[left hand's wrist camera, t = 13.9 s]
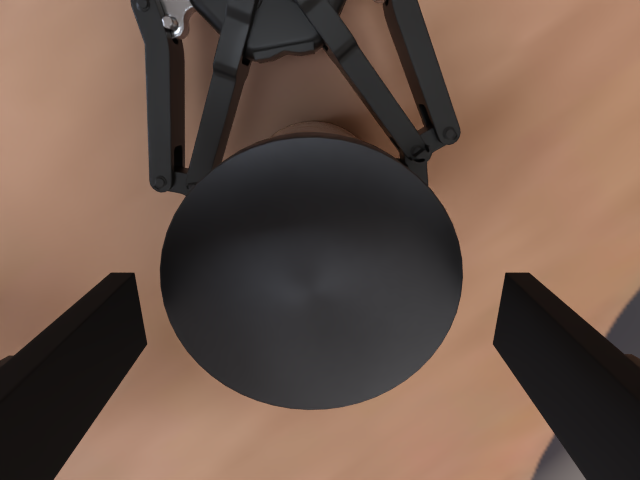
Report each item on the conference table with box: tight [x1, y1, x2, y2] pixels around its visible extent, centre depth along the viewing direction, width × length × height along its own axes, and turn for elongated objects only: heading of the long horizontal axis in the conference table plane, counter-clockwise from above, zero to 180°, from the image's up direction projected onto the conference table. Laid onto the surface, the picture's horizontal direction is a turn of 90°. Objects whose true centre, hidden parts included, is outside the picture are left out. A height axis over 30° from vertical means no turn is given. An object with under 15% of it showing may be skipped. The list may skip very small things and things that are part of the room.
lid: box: [160, 132, 463, 410], centre depth 15 cm, size 11×11×2 cm
